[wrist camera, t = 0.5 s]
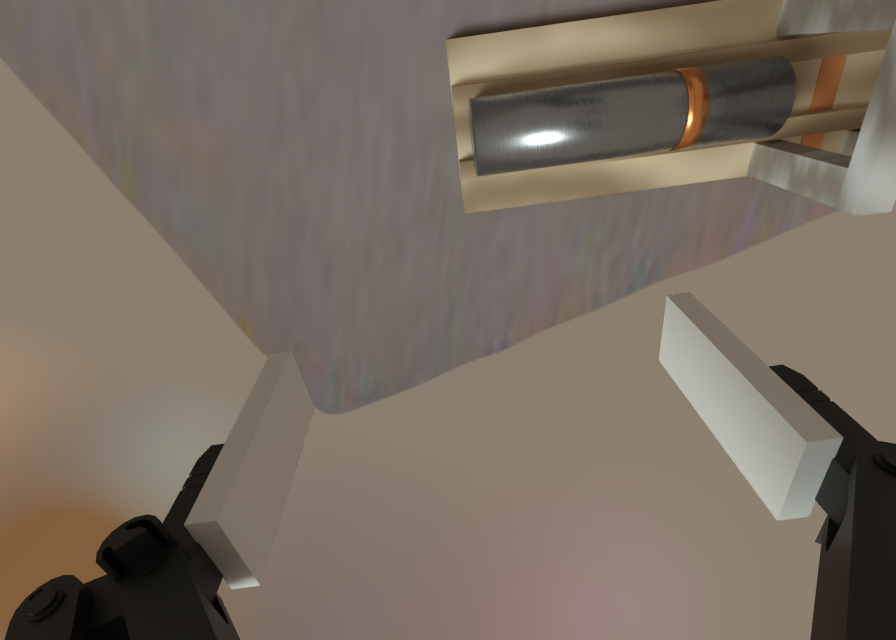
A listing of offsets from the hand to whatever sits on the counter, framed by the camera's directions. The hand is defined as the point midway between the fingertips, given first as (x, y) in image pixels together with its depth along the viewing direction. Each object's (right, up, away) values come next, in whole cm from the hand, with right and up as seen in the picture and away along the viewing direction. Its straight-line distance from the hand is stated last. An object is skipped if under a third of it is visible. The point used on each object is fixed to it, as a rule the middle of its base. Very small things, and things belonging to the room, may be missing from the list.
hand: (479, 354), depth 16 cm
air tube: (+10, +16, +17) cm, 26 cm away
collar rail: (+16, +18, +18) cm, 30 cm away
